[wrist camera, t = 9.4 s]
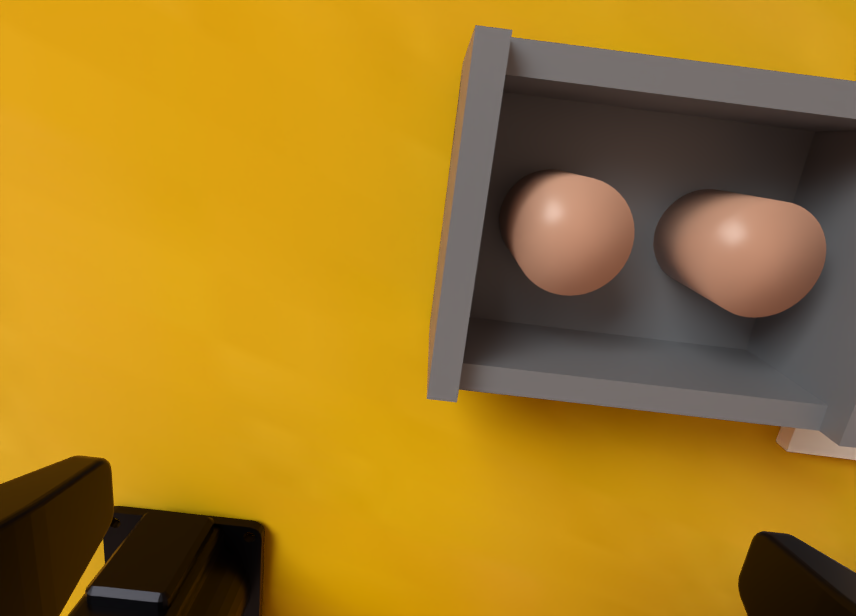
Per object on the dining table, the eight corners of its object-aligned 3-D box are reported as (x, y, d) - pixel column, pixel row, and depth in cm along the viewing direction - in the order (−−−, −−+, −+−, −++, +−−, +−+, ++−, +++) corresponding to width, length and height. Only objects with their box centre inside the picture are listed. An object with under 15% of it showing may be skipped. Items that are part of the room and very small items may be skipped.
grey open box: (749, 364, 20) (867, 449, 15) (429, 326, 20) (426, 398, 14) (831, 109, 17) (1014, 94, 12) (463, 62, 17) (475, 25, 12)
